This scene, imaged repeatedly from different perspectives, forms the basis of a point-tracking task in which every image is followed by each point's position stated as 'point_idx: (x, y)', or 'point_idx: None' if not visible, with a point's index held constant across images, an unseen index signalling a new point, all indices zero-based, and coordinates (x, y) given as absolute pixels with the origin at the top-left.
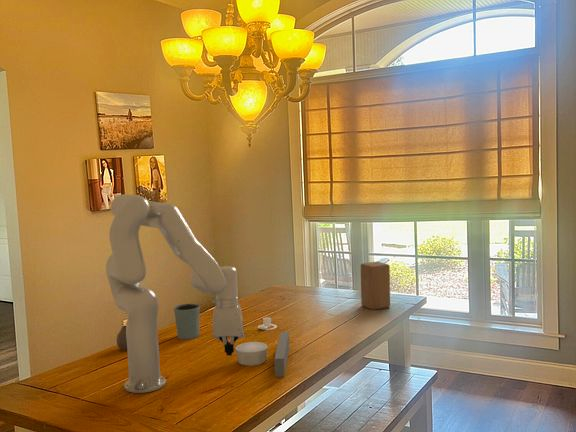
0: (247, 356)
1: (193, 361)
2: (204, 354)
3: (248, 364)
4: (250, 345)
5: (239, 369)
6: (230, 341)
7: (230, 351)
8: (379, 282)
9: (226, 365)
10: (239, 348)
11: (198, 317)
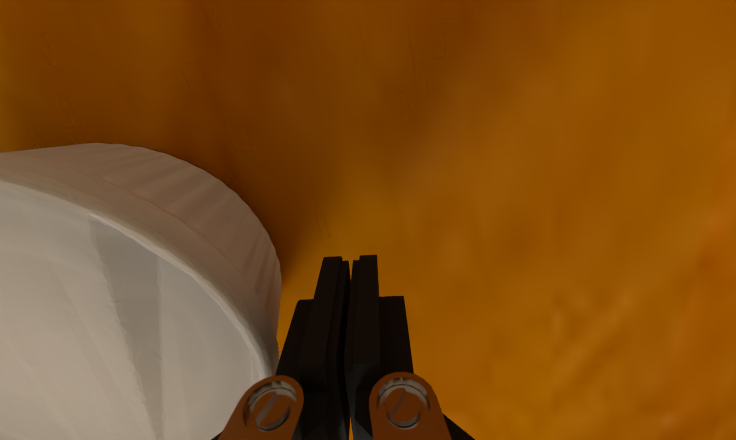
0: (33, 155)
1: (686, 256)
2: (579, 376)
3: (124, 145)
4: (95, 404)
5: (197, 51)
6: (285, 432)
7: (322, 287)
8: None
9: (369, 167)
10: (228, 355)
11: None
